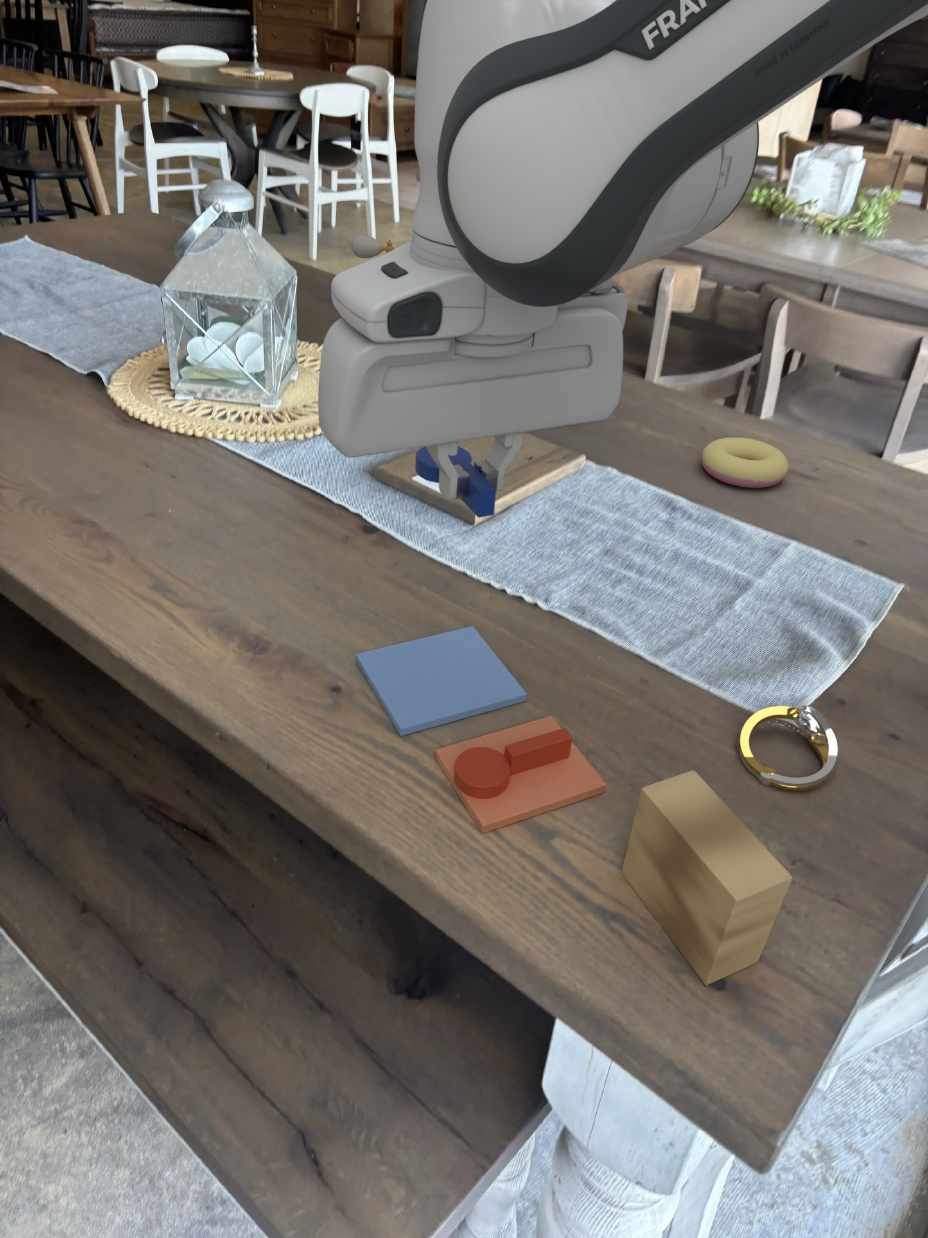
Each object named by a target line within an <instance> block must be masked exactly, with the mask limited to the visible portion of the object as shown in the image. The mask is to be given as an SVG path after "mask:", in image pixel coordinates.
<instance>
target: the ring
mask: <svg viewBox="0 0 928 1238" xmlns="http://www.w3.org/2000/svg"><path fill="white" fill-rule="evenodd" d="M770 724H777V725H782V726H783V727H787V728H788V729H791V730H792V731H793V732H796V733H797V734H798V735H801V736H802V738H804V739H806V740H807V741H808V744H810V745H811V746H812V748H813V749H814V750H815V752H816V753H817V755H818V757H819V759H820V761H821V765H822V767H821V769H820V770H818V771H817V772H816V773H813V774H810V775H808V776H802V777H792V776H791V777H790V776H785V775H781V774H778V773H777V772H776V770H775V769H774V768H772V767H770V766H763V765H762V764H761V763H760V762H759V761H757V759H756V758H755V756H754V755H753V753H752V751H751V748H750V737H751V735H752V734H753V733H754V732H755V731H756V730H758V729H759V728H761V727H763V726H766V725H770ZM832 729H833V728H832V727H831V726H830V724H829V723H828V721H827V720H826V719H825V718H824V717H823V715H822V714H821V713H820V712H819V711H818V710H816V709H815V708H813V707H812V706H809V705H805V704H802V705H801V704H800V705H798V706H795V707H794V706H787V705H786V706H785V705H775V706H768V707H765V708H763V709H760V710H758V711H756V712H755V713H753V714H752V715H751V716H749V718H748V719H747V720H746V721H745V723H744V725H743V726H742V729H741V732H740V736H739V742H738V743H739V744H738V750H739V751H738V752H739V755H740V759H741V761H742V763H743V765H744V766H745V768H746V769H747V770H748V771H749V772H750V773H751V774H752V775H753V776H754V777H756V778H757V779H758V782H759V783H760V784H761V785H763V786H766V787H770V786H772V787H775V788H778V789H781V790H786V791H795V792H801V791H802V792H803V791H808V790H809V791H810V790H813V789H816V788H818V787H820V786H822V785H824V784H825V783H826V782H827V781H828V780H829V779H830V777H831V776H832V773H833V770H834V768H835V765H836V763H837V762H836V761H837V757H838V742H837V738H836V735H835V733H834V731H833V730H832ZM818 737H820V738H822V739H823V738H824V740H825V743H824V742H823V741H822V740H821V739H819V738H818Z"/></svg>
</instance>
